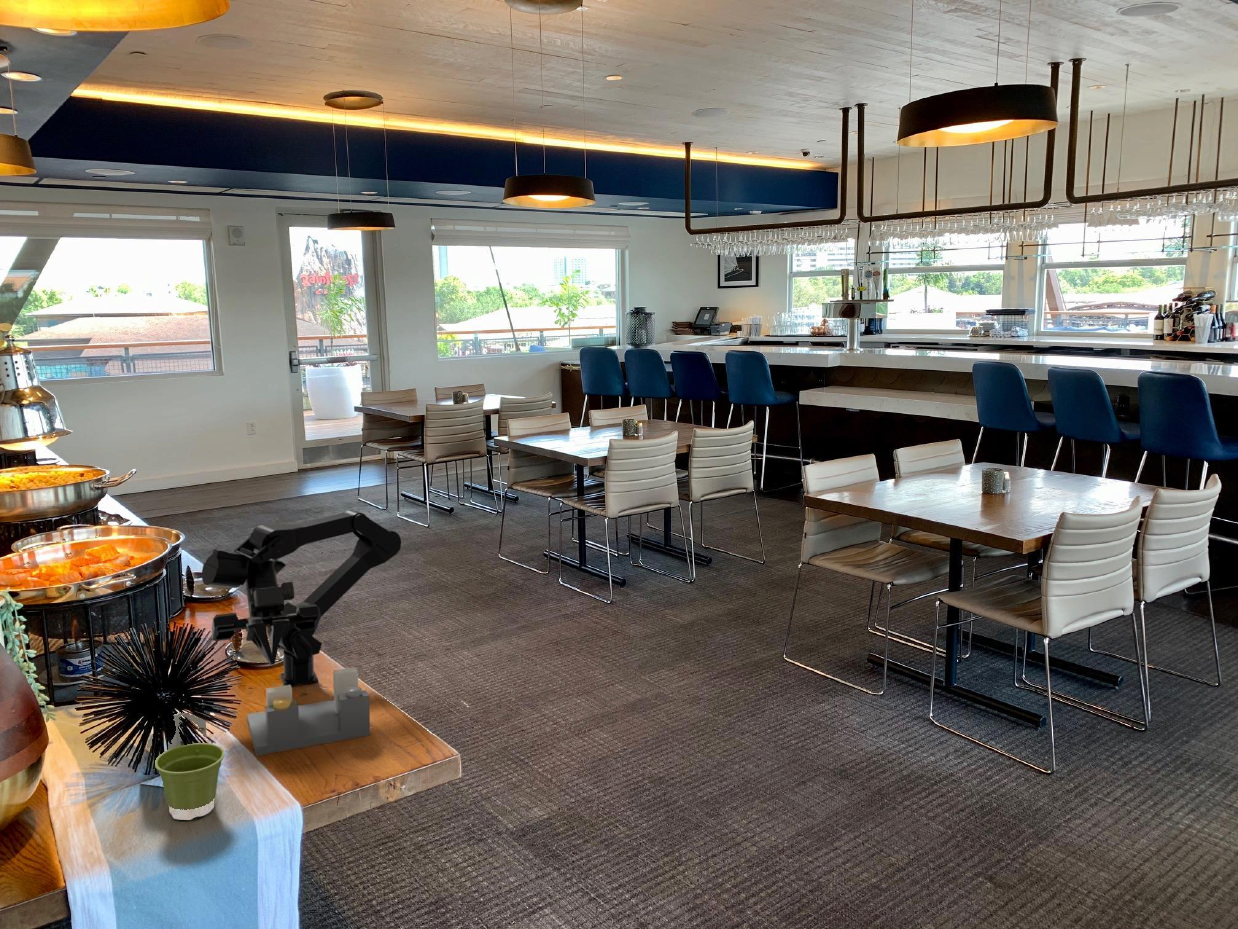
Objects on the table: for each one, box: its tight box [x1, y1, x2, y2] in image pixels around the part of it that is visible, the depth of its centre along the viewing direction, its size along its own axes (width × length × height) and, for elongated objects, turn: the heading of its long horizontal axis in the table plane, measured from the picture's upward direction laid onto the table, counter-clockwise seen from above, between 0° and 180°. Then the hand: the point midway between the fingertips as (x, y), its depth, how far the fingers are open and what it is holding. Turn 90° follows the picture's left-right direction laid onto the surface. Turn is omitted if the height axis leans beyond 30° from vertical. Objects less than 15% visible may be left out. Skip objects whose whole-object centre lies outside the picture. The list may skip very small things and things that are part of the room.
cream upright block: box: [332, 666, 359, 714], centre depth 168 cm, size 2×4×8 cm, turn 118°
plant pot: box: [155, 742, 225, 810], centre depth 137 cm, size 9×9×9 cm
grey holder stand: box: [246, 686, 371, 757], centre depth 164 cm, size 14×19×8 cm
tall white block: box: [265, 685, 293, 706], centre depth 159 cm, size 2×4×8 cm, turn 117°
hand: (272, 663), depth 167 cm, fingers closed
